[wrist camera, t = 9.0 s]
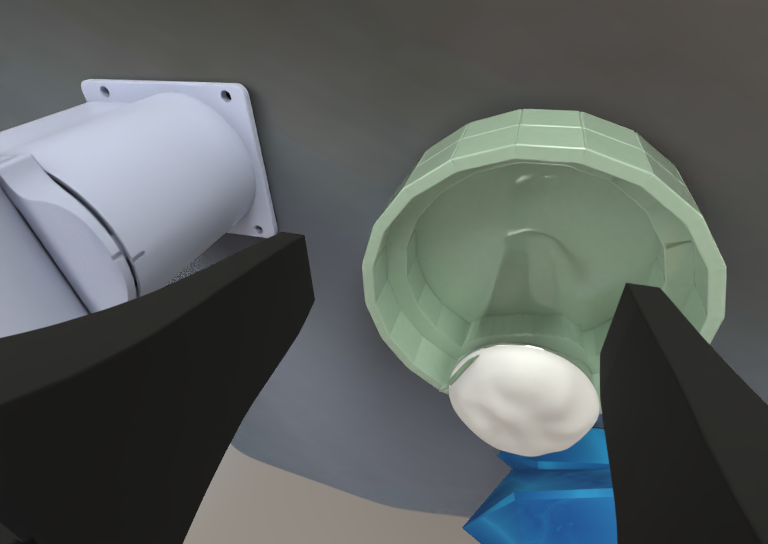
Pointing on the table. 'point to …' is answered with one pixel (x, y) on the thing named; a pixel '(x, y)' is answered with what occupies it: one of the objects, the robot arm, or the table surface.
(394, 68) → the table surface
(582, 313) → the bowl
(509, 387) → the milkshake
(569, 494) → the crystal
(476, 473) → the table surface
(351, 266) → the table surface
